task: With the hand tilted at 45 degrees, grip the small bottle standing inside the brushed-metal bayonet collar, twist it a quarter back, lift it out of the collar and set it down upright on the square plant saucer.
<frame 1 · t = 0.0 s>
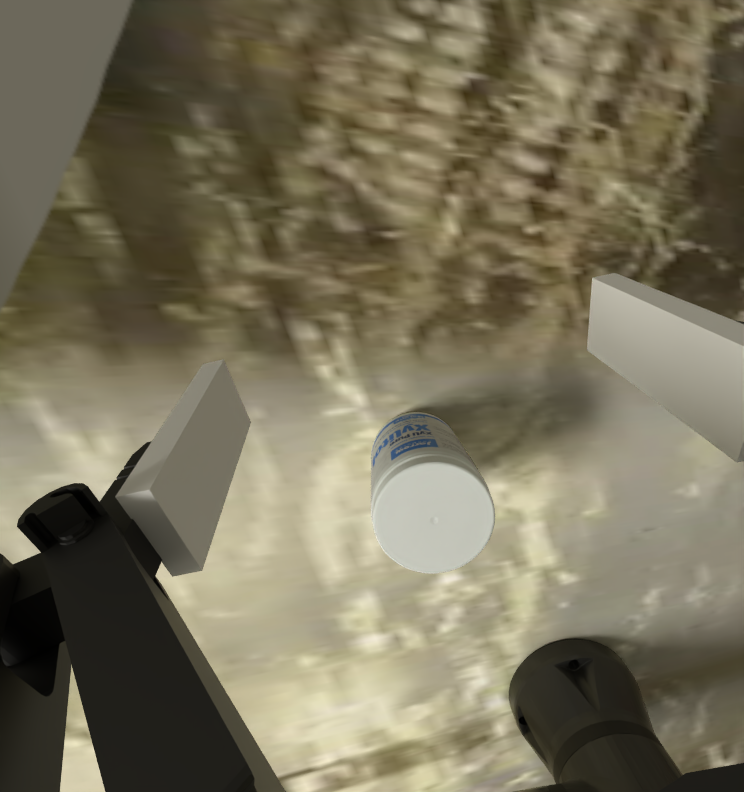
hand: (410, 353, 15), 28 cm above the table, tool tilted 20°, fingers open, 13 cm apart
supplement tub: (413, 452, 45), on the table
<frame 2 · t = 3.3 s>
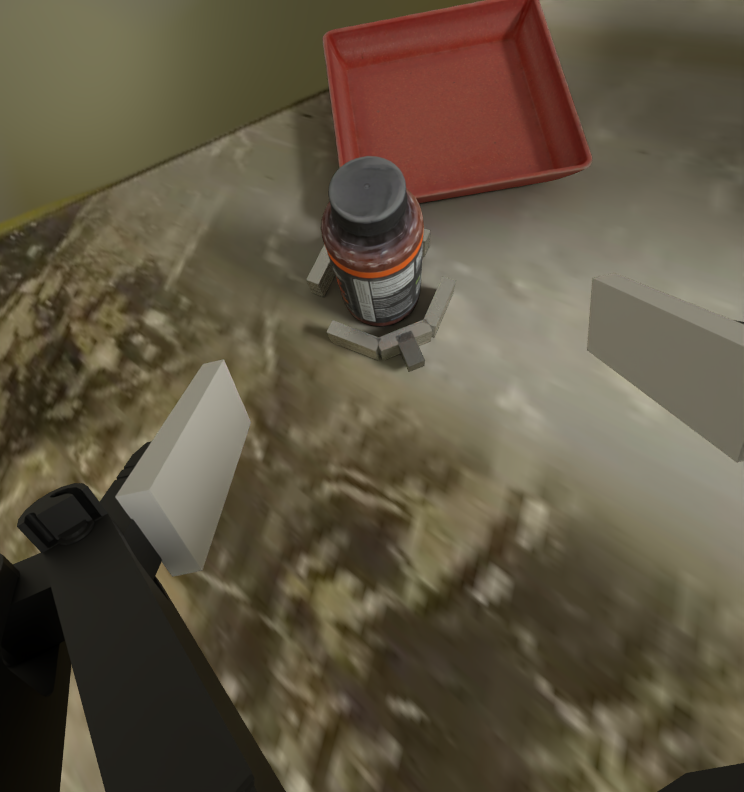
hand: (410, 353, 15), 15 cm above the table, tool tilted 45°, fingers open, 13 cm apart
plant saucer: (442, 131, 35), on the table, touching bayonet collar
bayonet collar: (381, 293, 31), on the table
supplement bottle: (381, 295, 32), on the table
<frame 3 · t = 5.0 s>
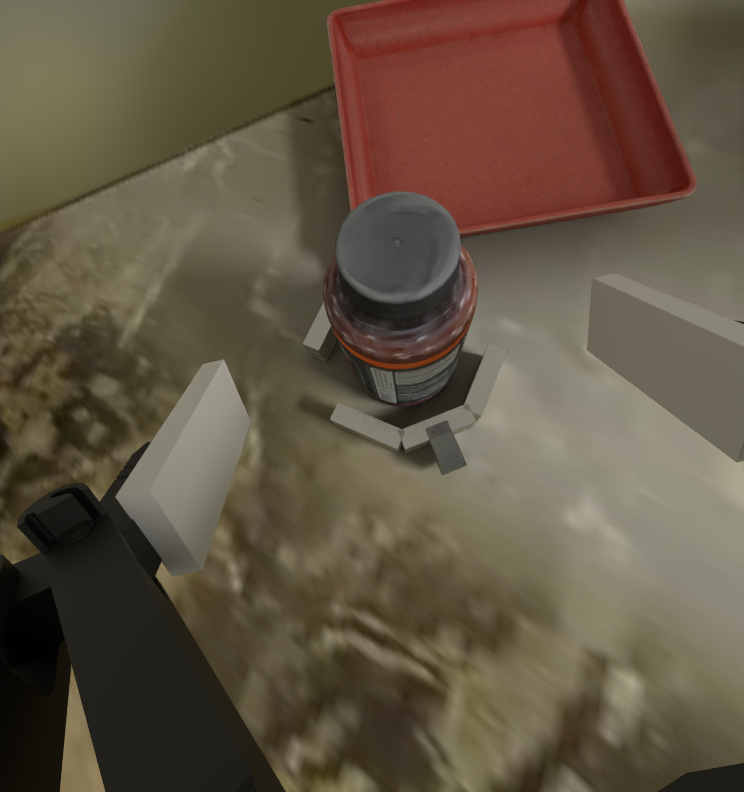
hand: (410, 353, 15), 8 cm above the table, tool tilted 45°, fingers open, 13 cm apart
plant saucer: (481, 140, 27), on the table, touching bayonet collar
bayonet collar: (403, 359, 24), on the table
supplement bottle: (403, 360, 24), on the table
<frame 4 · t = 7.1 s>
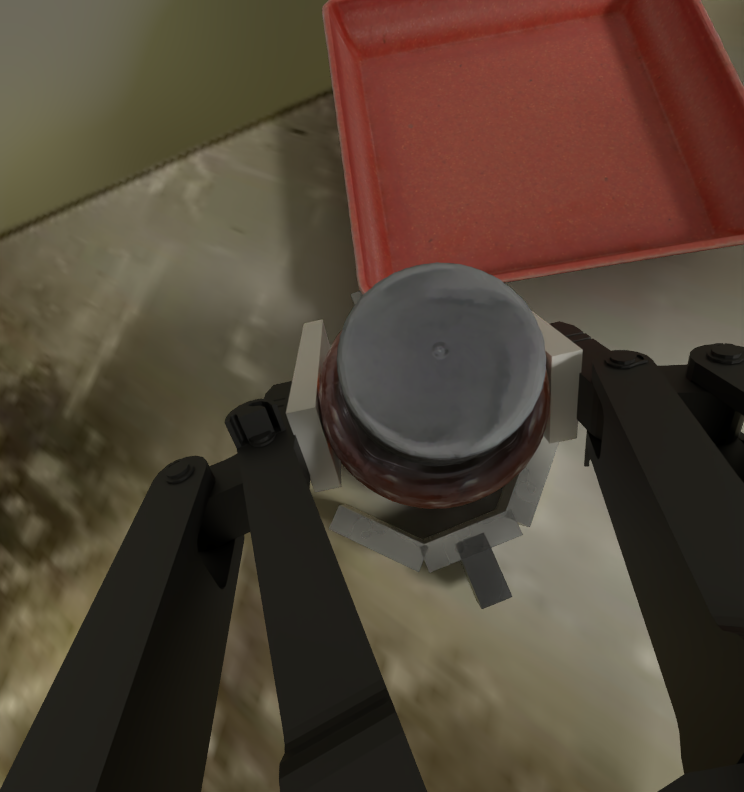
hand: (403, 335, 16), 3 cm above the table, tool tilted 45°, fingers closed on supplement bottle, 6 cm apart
plant saucer: (512, 157, 22), on the table, touching bayonet collar
bayonet collar: (421, 436, 19), on the table
supplement bottle: (421, 437, 19), on the table, touching gripper
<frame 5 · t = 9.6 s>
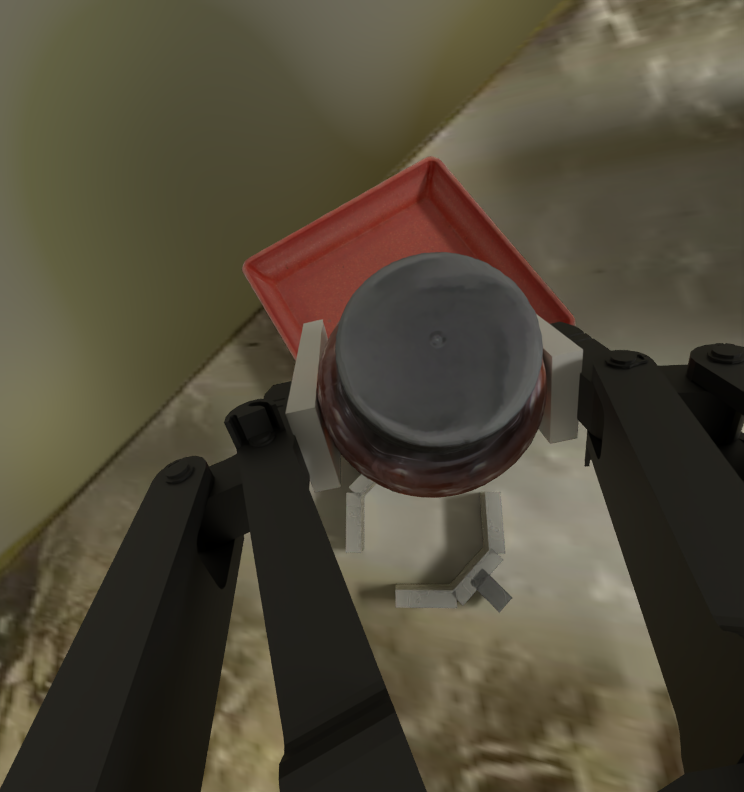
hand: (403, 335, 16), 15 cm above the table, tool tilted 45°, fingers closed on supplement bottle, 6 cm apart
plant saucer: (399, 313, 33), on the table, touching bayonet collar
bayonet collar: (422, 520, 29), on the table
supplement bottle: (419, 429, 19), point 11 cm above the table, touching gripper
when the fingers open (7 cm above the table, at t = 12.2 s): supplement bottle stays where it is, resting on plant saucer.
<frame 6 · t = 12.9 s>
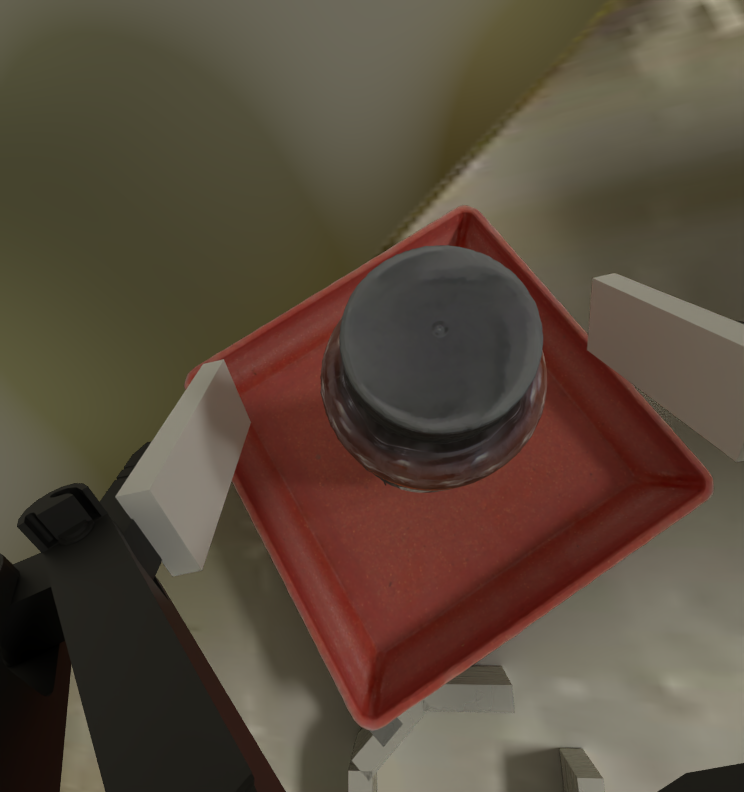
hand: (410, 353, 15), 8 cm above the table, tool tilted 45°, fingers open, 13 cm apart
plant saucer: (422, 438, 22), on the table, touching bayonet collar, supplement bottle
supplement bottle: (420, 428, 19), point 3 cm above the table, touching plant saucer
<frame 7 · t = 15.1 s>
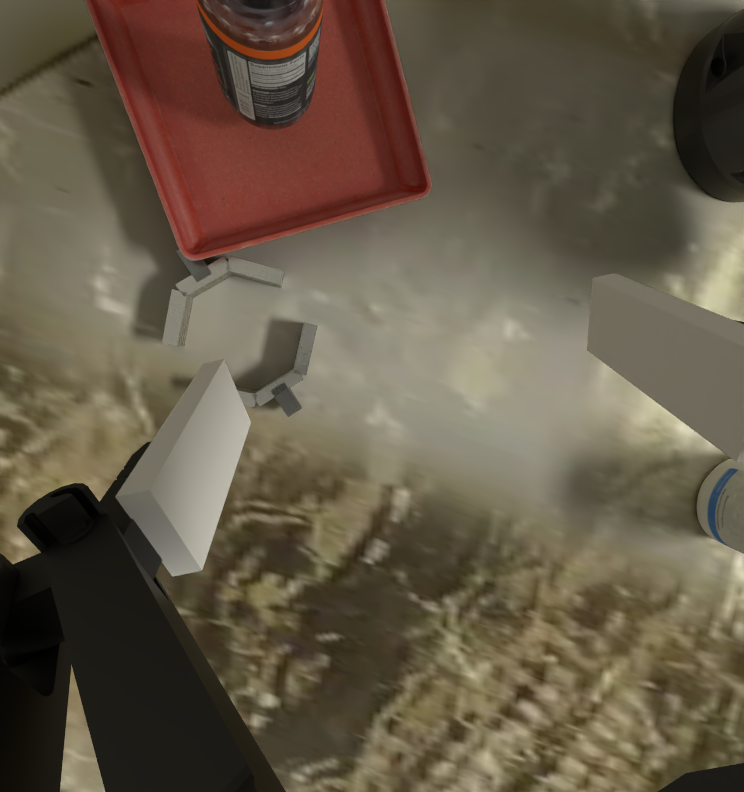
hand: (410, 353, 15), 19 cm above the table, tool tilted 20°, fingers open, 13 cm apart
supplement tub: (726, 495, 44), on the table
plant saucer: (272, 113, 29), on the table, touching bayonet collar, supplement bottle
bayonet collar: (245, 334, 31), on the table
supplement bottle: (267, 85, 26), point 3 cm above the table, touching plant saucer
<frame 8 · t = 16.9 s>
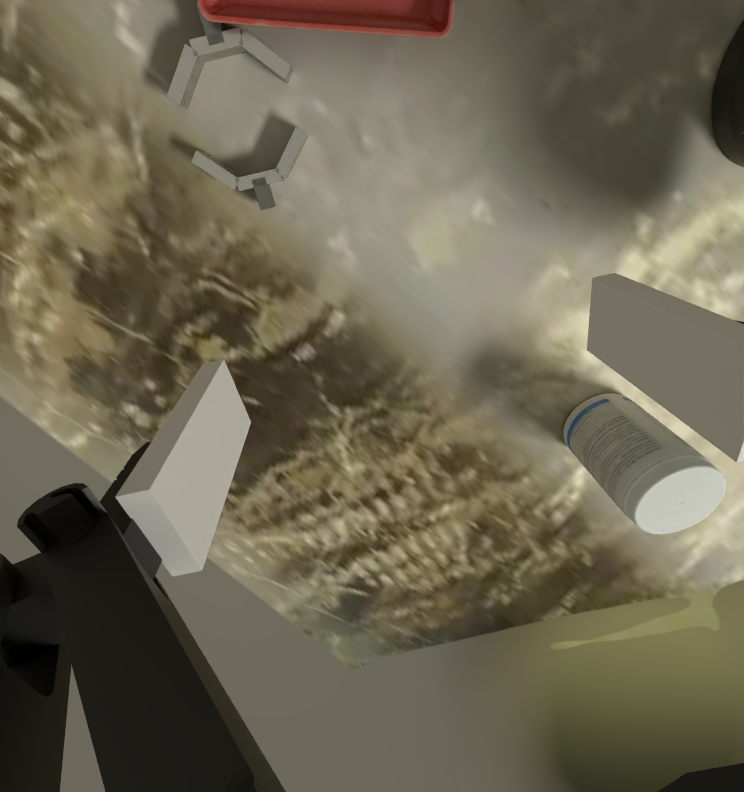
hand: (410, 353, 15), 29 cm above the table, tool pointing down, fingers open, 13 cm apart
supplement tub: (596, 420, 53), on the table
bayonet collar: (243, 118, 34), on the table
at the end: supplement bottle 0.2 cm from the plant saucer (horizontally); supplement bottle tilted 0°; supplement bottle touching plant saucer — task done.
